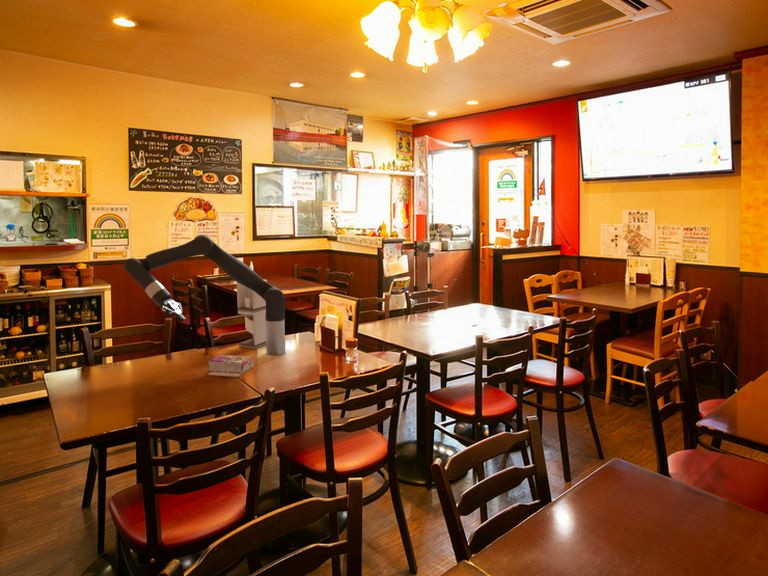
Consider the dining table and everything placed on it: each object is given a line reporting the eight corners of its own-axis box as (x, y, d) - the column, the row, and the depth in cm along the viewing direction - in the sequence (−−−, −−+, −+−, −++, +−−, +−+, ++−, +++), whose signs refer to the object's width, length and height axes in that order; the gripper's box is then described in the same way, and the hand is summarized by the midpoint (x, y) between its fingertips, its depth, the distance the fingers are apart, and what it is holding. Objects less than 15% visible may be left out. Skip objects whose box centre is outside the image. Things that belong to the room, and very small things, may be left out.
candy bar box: (220, 354, 245) (253, 356, 242) (220, 364, 246) (253, 367, 243) (207, 360, 234) (242, 362, 231) (208, 371, 235) (242, 373, 232)
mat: (226, 364, 248) (226, 363, 248) (254, 366, 245) (254, 365, 245) (208, 374, 233) (208, 373, 232) (237, 376, 230) (237, 375, 229)
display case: (252, 342, 292) (250, 278, 287) (268, 343, 288) (266, 279, 283) (239, 346, 281) (236, 281, 277) (255, 348, 277) (253, 282, 272)
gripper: (153, 289, 234) (180, 318, 233) (171, 285, 247) (196, 312, 246) (144, 301, 236) (170, 329, 235) (162, 296, 249) (187, 323, 248)
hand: (183, 320), depth 241 cm, fingers closed
